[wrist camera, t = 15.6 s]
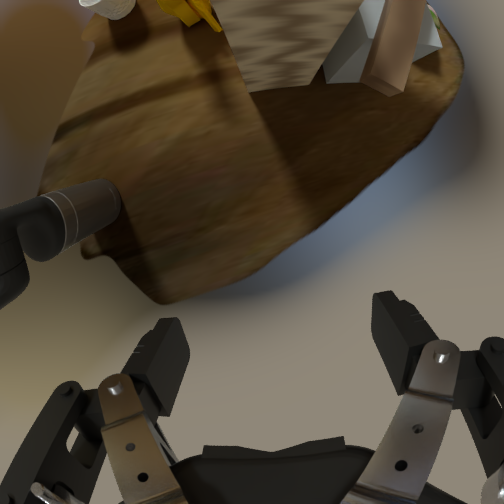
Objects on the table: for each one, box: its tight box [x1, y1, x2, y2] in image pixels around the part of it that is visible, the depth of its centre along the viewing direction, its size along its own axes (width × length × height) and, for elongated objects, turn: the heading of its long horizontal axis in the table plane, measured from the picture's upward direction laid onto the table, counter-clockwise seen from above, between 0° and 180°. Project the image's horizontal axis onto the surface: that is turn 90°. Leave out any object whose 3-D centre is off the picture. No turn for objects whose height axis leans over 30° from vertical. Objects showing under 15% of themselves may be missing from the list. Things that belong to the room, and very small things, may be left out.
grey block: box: [322, 0, 442, 84], centre depth 26 cm, size 9×18×22 cm, turn 9°
